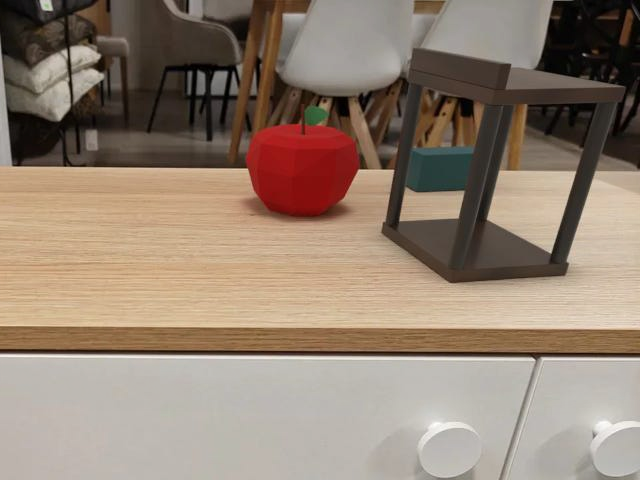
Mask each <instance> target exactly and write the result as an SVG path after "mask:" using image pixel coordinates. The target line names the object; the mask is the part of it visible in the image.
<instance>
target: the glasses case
mask: <svg viewBox="0 0 640 480" xmlns="http://www.w3.org/2000/svg"><path fill="white" fill-rule="evenodd" d="M474 149H475V145H462V146H461V145H459V146H430V147H427V146H426V147H413V149H412V155H411V160H410V166H409V171H408V176H407V182H406V187H407V188H409V189H411V190H412V191H415V192H416V193H422V192H424V193H425V192H442V191H443V192H445V191H465V188H466V183H467V179H468V175H469V170H470V166H471V162H472V157H473V153H474Z"/></svg>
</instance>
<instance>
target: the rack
mask: <svg viewBox="0 0 640 480" xmlns="http://www.w3.org/2000/svg"><path fill="white" fill-rule="evenodd" d="M406 82H407V83H408V89H407V94H406V98H405V99H406V100H405V106H404V110H403V111H404V112H403V117H402V122H401V128H400V133H399V139H398V146H397V151H396V157H395V163H394V169H393V174H392V175H393V176H392V180H391V186H390V192H389V197H388V202H387V203H388V204H387V208H386V215H385V220H384V221H382V226H381V231H380V232H381V234H382V235H384V236H385V237H387V239H390V240H391V241H392V242H394V244H397V246H400V247H401V248H402V249H403V250H405V251H406V252H408V253H409V254H410V255H412V256H413V257H414V258H416V259H417V260H419V261H420V262H421V263H423V264H424V265H426V266H427V267H428V268H429V269H431V270H432V271H434V272H435V273H436V274H438V275H439V276H440V277H442V278H443V279H445V280H447V282H449V283H462V282H476V281H491V280H493V281H494V280H504V279H505V280H506V279H520V278H537V277H553V276H566V274H567V272H568V268H569V266H570V262H568V258H569V255H570V252H571V249H572V246H573V243H574V240H575V237H576V234H577V231H578V228H579V224H580V220H581V217H582V215H583V211H584V208H585V205H586V203H587V199H588V196H589V193H590V189H591V187H592V183H593V180H594V178H595V174H596V171H597V167H598V164H599V161H600V158H601V156H602V153H603V150H604V146H605V143H606V141H607V140H606V139H607V136H608V133H609V131H610V127H611V124H612V121H613V118H614V114H615V112H616V109H617V107H618V104H619V103H622V102H623V99H624V95H625V93H626V90H627V86H624V85H618V84H613V83H607V82H601V81H596V80H591V79H586V78H580V77H576V76H575V77H574V76H568V75H563V74H557V73H552V72H547V71H542V70H541V71H540V70H536V69H530V68H525V67H521V66H520V67H519V66H518V67H515V66H514V67H512V63H510V62H505V61H499V60H493V59H487V58H482V57H476V56H471V55H466V54H459V53H454V52H448V51H442V50H437V49H431V48H425V47H413V48H412V51H411V57H410V63H409V69H408V73H407V80H406ZM425 88H428V89H432V90H435V91H439V92H442V93H446V94H448V95H454V96H457V97H461V98H465V99H468V100H471V101H475V102H478V103H482V104H484V105H483V106H484V107H483V109H482V113H481V118H480V123H479V127H478V131H477V135H476V141H475V145H474V147H475V149H474V153H473V157H472V162H471V166H470V170H469V175H468V179H467V183H466V188H465V190H464V192H463V197H462V201H461V205H460V210H459V215H458V217H456V218H436V219H420V220H419V219H417V220H400V219H401V213H402V208H403V203H404V198H405V194H406V193H405V192H406V187H407V186H406V182H407V176H408V171H409V166H410V160H411V155H412V149H413V148H414V144H415V139H416V133H417V129H418V128H417V127H418V123H419V116H420V111H421V105H422V100H423V96H424V95H423V94H424V89H425ZM554 104H556V105H557V104H558V105H559V104H560V105H561V104H596V106H595V109H594V111H593V112H594V113H593V116H592V120H591V123H590V126H589V129H588V133H587V136H586V139H585V141H584V145H583V149H582V153H581V155H580V159H579V162H578V165H577V168H576V171H575V174H574V177H573V181H572V185H571V188H570V190H569V194H568V198H567V200H566V204H565V207H564V210H563V214H562V217H561V220H560V224H559V227H558V231H557V234H556V237H555V240H554V243H553V245H552V246H553V247H552V249H551V252H549V251H547V250H546V249H544V248H542V247H540V246H537V245H536V244H534V243H532V242H530V241H528V240H526V239H524V238H522V237H521V236H519V235H517V234H515V233H513V232H511V231H509V230H508V229H505V228H504V227H502V226H500V225H498V224H496V223H494V222H492V221H490V220H488V218H489V213H490V210H491V207H492V202H493V198H494V193H495V190H496V186H497V181H498V178H499V174H500V170H501V165H502V161H503V159H504V154H505V150H506V146H507V142H508V138H509V133H510V130H511V126H512V122H513V118H514V114H515V109H516V107H517V106H518V105H519V106H521V105H554Z"/></svg>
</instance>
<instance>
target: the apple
mask: <svg viewBox="0 0 640 480" xmlns="http://www.w3.org/2000/svg"><path fill="white" fill-rule="evenodd" d="M300 115H301V119H300V120H301V123H295V124H293V123H291V124H289V123H288V124H287V123H286V124H278V125H273V126H268V127H264V128H263V129H261V130H260V131H258V132H256V133H255V134H253V136H252V139H251V142H250V144H249V147H248V150H247V153H246V156H245V163H246V167H247V171H248V173H249V178H250V182H251V185H252V189H253V192H254V193H255V194H256V196H257V198H258V199H259V200H260V201H261V202H262V204H263V205H264V206H265V207H266V208H267V210H268V211H269V212H274V213H278V214H283V215H288V216H304V217H305V216H312V217H313V216H315V217H316V216H319V215H321V214H322V213H325V212H326V211H328V210H329V209H331V208H332V207H333V206H335V205H337V204H338V203H339V202H341V201H342V200H344V199H345V197H346V195H347V193H348V191H349V189H350V187H351V185H352V183H353V181H354V179H355V178H356V176H357V174H358V172H359V170H360V161H359V155H358V148H357V142H356V140H354V139H352V137H350V136H349V135H348V134H347V133H345V132H343V131H341V130H340V129H337V128H336V127H330V126H324V125H319V124H320V123H322V122H323V121H324V120H325V119H327V117H329V115H330V113H329V112H328V111H327V110H325V109H324V108H322V107H319V106H317V105H309V106H307V107H306V108H305V104H304V103H301V104H300Z"/></svg>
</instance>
